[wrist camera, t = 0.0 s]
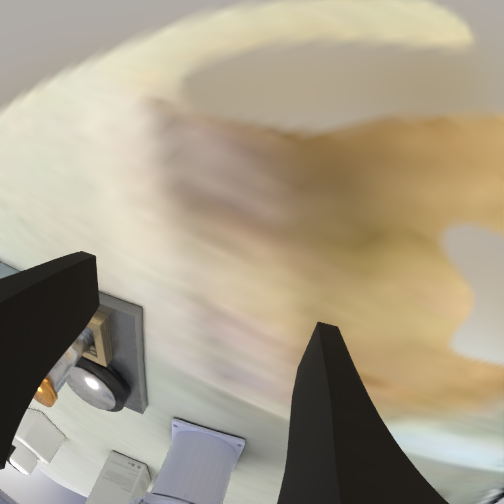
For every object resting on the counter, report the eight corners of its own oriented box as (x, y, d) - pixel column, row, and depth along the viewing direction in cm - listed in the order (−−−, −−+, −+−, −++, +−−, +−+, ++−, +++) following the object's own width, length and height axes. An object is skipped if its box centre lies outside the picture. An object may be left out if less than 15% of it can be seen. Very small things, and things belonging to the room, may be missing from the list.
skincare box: (111, 449, 40) (71, 524, 26) (149, 465, 39) (113, 545, 26) (119, 467, 44) (86, 533, 30) (153, 481, 43) (123, 551, 29)
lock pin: (104, 348, 25) (57, 413, 18) (75, 334, 26) (25, 393, 19) (100, 319, 24) (45, 387, 17) (69, 306, 24) (12, 366, 17)
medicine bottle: (47, 431, 46) (19, 473, 35) (24, 406, 43) (-8, 449, 33) (66, 437, 44) (37, 484, 33) (41, 411, 41) (8, 459, 31)
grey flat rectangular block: (147, 407, 30) (136, 428, 28) (72, 373, 31) (58, 390, 29) (141, 307, 24) (123, 332, 21) (47, 270, 25) (26, 288, 22)
